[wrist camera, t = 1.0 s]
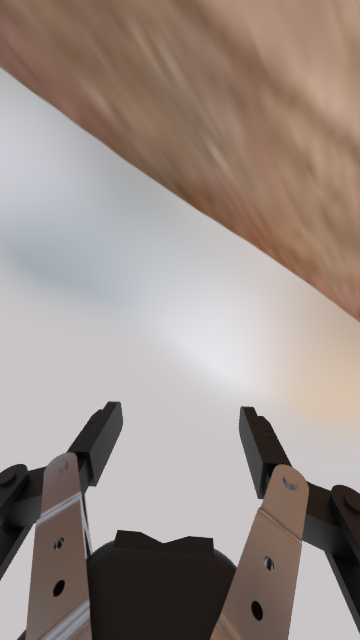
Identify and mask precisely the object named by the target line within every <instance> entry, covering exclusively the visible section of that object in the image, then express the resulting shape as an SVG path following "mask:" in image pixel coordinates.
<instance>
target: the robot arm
mask: <svg viewBox="0 0 360 640" xmlns="http://www.w3.org/2000/svg"><path fill="white" fill-rule="evenodd" d="M122 425H123V416H122V408H121V403H120V402H110V401H109V402H108V403H107V404H106V406H105V407H104V409H103V410H101V409H100V410H98V411H97V412H96V413H95V414H93V415H92V416H91V418H90V419H89V421H88V422H87V424H86V425H85V426H84V428H83V430H82V431H81V432H80V434H79V435H78V437H77V438H76V439H75V441H74V442H73V444H72V445H71V446H70V448H69V450H68V451H67V452H66V453H64V454H61V455H59V456H57V457H56V458H55V459H53V460H52V461H51V462H50V463H49V464H48V466H46V467H42V468H38V469H35V470H31V471H28V470H27V467H26V465H24V464H17V465H14V466H11V467H9V468H7V469H5V470H4V471H2V472H1V473H0V580H1V578H2V577H3V575H4V573H5V572H6V570H7V568H8V566H9V565H10V563H11V561H12V560H13V558H14V556H15V555H16V553H17V551H18V550H19V548H20V546H21V544H22V543H23V541H24V539H25V538H26V536H27V534H28V533H29V531H30V529H31V527H32V526H33V524H34V523H36V529H35V539H34V550H33V560H32V572H31V582H30V593H29V604H28V605H29V606H28V616H27V626H26V630H25V631H24V632H23V633H22V634H21V636H20V637H19V638H18V639H17V640H288V635H289V628H290V622H291V615H292V608H293V601H294V594H295V588H296V581H297V575H298V568H299V561H300V555H301V547H302V540H303V541H305V542H307V543H309V544H311V545H313V546H315V547H318V548H319V549H321V550H323V551H324V552H325V554H326V556H327V559H328V561H329V563H330V566H331V568H332V570H333V573H334V575H335V576H336V579H337V582H338V584H339V587H340V589H341V591H342V594H343V596H344V598H345V600H346V603H347V605H348V607H349V610H350V612H351V614H352V617H353V619H354V621H355V624H356V626H357V628H358V631H359V633H360V494H359V493H358V492H356V491H355V490H353V489H351V488H349V487H347V486H344V485H335V486H333V488H332V490H331V491H330V490H327V489H324V488H322V487H319V486H316V485H314V484H311V483H309V482H308V481H306V480H305V478H304V477H303V476H302V475H301V474H300V473H299V472H298V471H297V470H296V469H294V468H293V467H292V465H291V464H290V461H289V460H288V458H287V456H286V454H285V452H284V450H283V448H282V446H281V444H280V442H279V440H278V439H277V436H276V434H275V433H274V430H273V428H272V426H271V424H270V423H269V422H268V421H267V420H266V419H265V418H264V417H263V416H257V413H256V411H255V409H254V408H253V407H243V406H242V407H241V408H240V419H239V433H240V438H241V441H242V445H243V448H244V452H245V455H246V459H247V462H248V466H249V469H250V472H251V476H252V479H253V483H254V486H255V490H256V493H257V497H258V499H263V503H262V505H261V507H260V508H259V509H258V511H257V513H256V516H255V519H254V522H253V525H252V527H251V530H250V533H249V536H248V539H247V541H246V544H245V547H244V550H243V553H242V556H241V558H240V561H239V564H238V567H236V566H235V565H234V564H233V563H232V561H231V560H229V559H228V558H227V557H226V556H225V555H223V554H222V553H221V552H219V551H218V550H216V549H214V545H213V538H204V537H192V536H188V537H184V538H181V539H178V540H174V541H171V542H167V543H161V542H159V541H157V540H155V539H153V538H151V537H149V536H147V535H145V534H143V533H141V532H135V531H123V530H118V531H117V534H116V538H115V540H114V541H111V542H109V543H107V544H105V545H103V546H102V547H100V548H99V549H97V550H96V551H95V552H92V546H91V540H90V533H89V525H88V516H87V508H86V500H85V492H86V490H87V488H88V486H96V485H97V483H98V481H99V479H100V476H101V474H102V472H103V469H104V467H105V465H106V463H107V461H108V459H109V456H110V454H111V452H112V450H113V448H114V445H115V443H116V441H117V439H118V437H119V434H120V432H121V430H122Z"/></svg>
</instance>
